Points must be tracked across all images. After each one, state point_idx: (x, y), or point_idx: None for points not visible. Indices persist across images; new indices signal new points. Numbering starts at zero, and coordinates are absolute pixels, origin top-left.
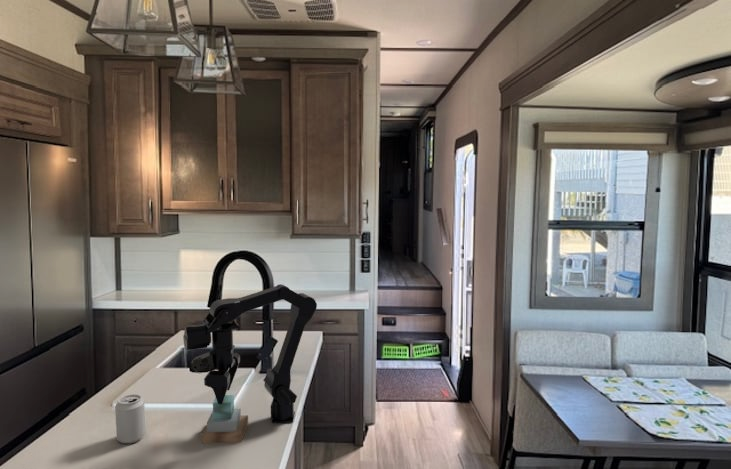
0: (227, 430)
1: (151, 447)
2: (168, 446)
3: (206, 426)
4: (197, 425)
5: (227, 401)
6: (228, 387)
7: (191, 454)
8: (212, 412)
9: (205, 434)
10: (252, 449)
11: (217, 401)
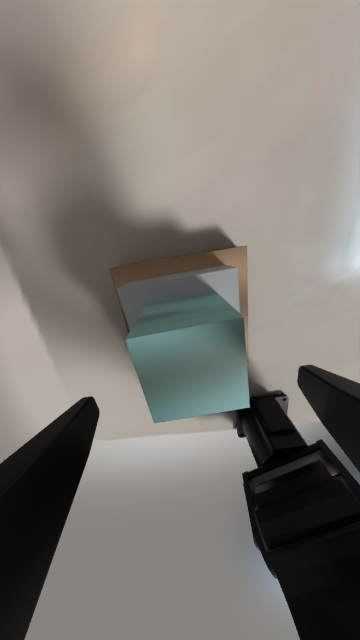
0: None
1: (35, 64)
2: (66, 150)
3: (168, 261)
4: (223, 197)
5: (162, 406)
6: (312, 397)
7: (51, 264)
8: (207, 275)
9: (115, 281)
10: (118, 394)
11: (62, 414)
